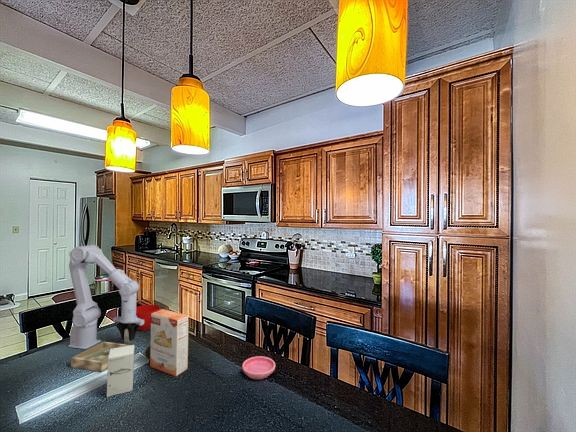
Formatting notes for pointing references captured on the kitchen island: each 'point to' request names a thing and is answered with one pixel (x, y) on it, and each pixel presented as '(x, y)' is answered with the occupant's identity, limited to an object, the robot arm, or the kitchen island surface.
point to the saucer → (258, 367)
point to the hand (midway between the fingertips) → (128, 339)
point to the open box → (94, 357)
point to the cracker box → (169, 342)
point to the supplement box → (120, 370)
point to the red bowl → (146, 315)
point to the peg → (126, 337)
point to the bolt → (148, 352)
